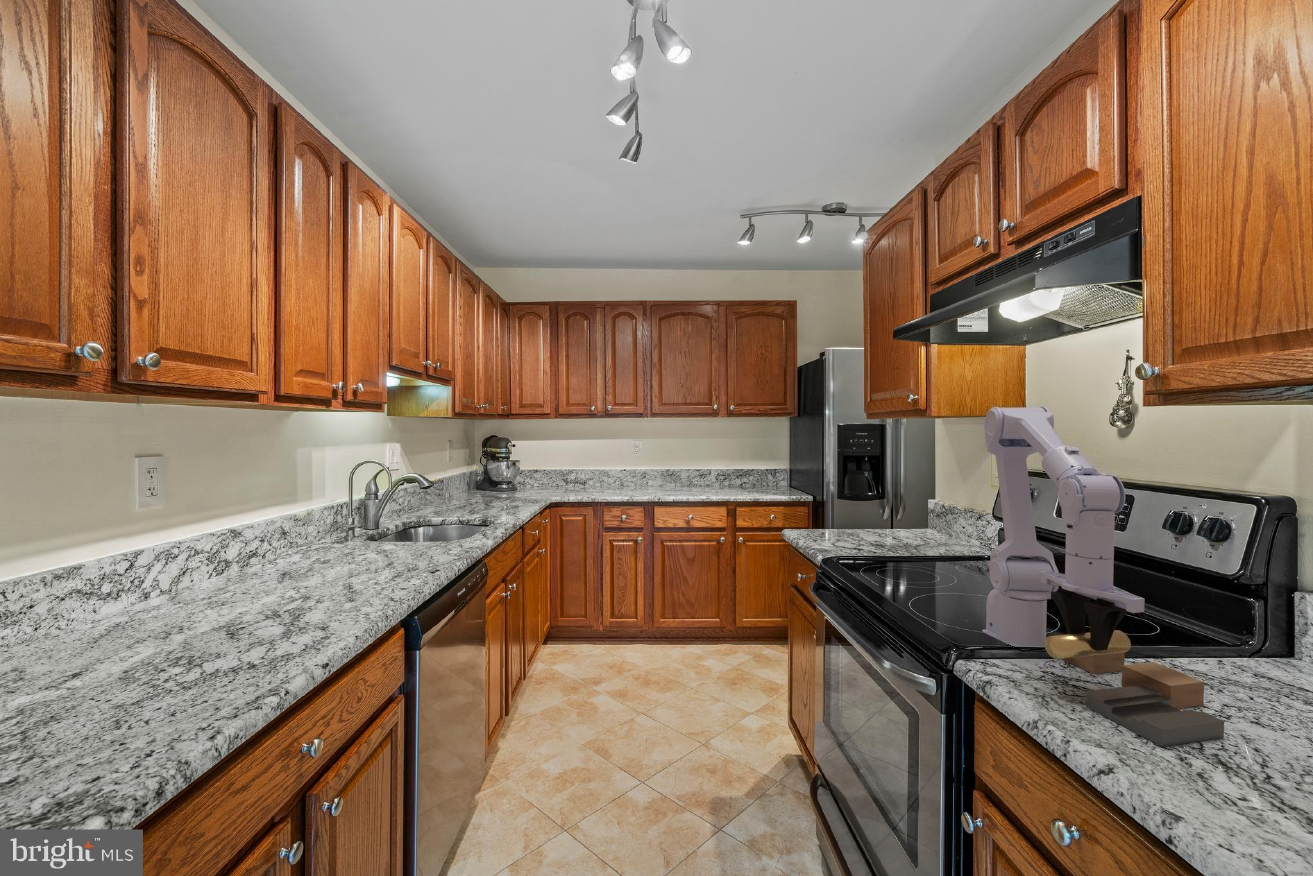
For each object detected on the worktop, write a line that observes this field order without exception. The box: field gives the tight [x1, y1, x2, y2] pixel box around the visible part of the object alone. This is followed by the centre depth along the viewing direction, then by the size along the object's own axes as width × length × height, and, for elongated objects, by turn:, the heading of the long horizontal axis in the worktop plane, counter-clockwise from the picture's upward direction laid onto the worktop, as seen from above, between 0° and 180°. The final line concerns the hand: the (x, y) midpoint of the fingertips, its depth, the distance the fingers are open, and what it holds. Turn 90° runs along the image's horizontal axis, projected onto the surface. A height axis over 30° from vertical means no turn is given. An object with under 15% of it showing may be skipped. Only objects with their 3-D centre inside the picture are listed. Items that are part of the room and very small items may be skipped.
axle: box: [1044, 629, 1132, 660], centre depth 83 cm, size 12×3×3 cm, turn 101°
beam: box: [1061, 652, 1205, 709], centre depth 88 cm, size 18×6×3 cm, turn 11°
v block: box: [1085, 685, 1225, 748], centre depth 76 cm, size 10×10×2 cm
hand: (1087, 644), depth 83 cm, fingers closed on axle, 3 cm apart
